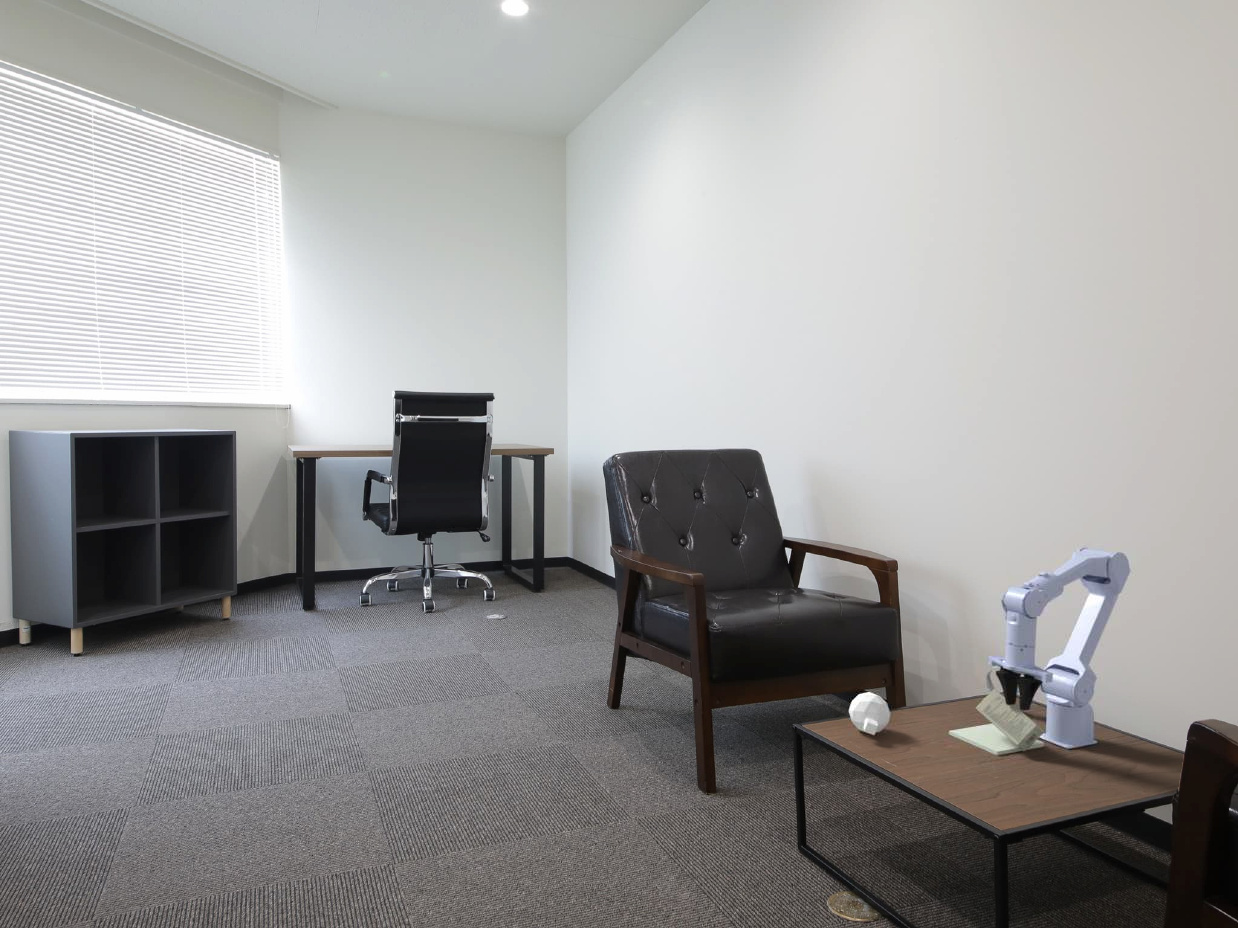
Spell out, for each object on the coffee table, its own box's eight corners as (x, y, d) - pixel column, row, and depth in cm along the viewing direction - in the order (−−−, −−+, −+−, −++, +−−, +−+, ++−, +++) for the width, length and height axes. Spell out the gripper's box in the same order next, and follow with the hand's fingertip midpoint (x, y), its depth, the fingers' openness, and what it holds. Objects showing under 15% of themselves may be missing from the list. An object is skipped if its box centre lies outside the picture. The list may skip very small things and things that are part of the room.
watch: (1016, 717, 194) (1017, 672, 194) (981, 710, 200) (982, 665, 200) (1023, 712, 199) (1024, 667, 198) (989, 704, 204) (990, 661, 204)
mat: (994, 726, 188) (994, 723, 188) (1044, 746, 176) (1044, 742, 176) (949, 734, 183) (949, 730, 183) (997, 755, 170) (997, 751, 170)
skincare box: (1045, 732, 171) (1002, 694, 182) (1037, 724, 169) (995, 686, 179) (1023, 753, 172) (982, 714, 182) (1015, 746, 170) (974, 707, 180)
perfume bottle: (843, 713, 190) (844, 737, 178) (856, 679, 188) (859, 701, 177) (879, 727, 188) (883, 753, 177) (893, 693, 186) (898, 717, 175)
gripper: (979, 637, 178) (976, 698, 178) (1036, 653, 165) (1033, 719, 165) (1002, 635, 181) (999, 695, 181) (1060, 651, 168) (1057, 716, 168)
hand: (1017, 706), depth 173 cm, fingers open, 3 cm apart
